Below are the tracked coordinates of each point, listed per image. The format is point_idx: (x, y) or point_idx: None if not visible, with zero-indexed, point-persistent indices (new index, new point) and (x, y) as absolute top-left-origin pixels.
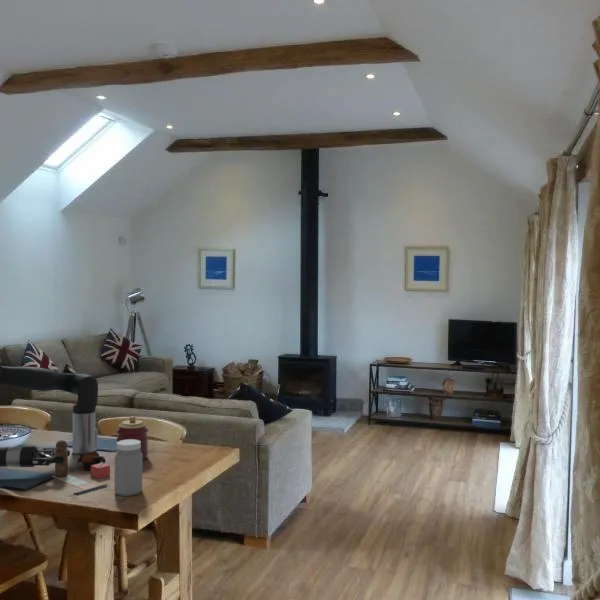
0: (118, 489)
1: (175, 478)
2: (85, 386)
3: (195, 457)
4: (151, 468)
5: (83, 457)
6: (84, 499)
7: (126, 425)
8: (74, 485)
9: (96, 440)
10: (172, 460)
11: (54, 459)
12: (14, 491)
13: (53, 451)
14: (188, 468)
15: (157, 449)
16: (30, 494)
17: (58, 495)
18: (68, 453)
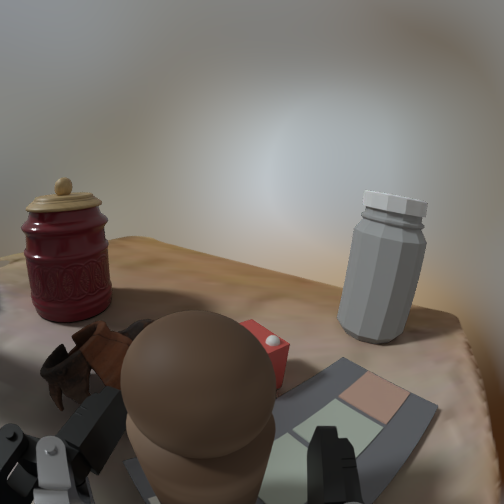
0: (405, 323)
1: (268, 279)
2: None
3: (146, 254)
4: (181, 293)
5: (107, 370)
6: (448, 388)
7: (76, 200)
8: (376, 435)
9: None
10: (142, 270)
11: (357, 489)
12: None
13: (74, 496)
14: (208, 265)
15: None
16: None
17: (450, 463)
18: (124, 407)
